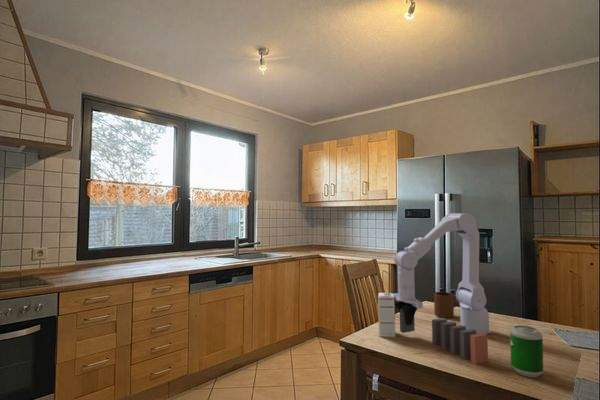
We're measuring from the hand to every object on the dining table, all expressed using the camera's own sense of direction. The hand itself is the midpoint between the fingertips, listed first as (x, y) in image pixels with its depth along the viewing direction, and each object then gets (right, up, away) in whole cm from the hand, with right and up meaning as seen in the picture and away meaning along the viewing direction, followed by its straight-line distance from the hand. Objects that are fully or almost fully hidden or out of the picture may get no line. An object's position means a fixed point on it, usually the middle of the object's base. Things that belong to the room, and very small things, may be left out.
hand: (407, 323), depth 127 cm
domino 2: (+9, -5, -6) cm, 12 cm away
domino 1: (0, -3, 0) cm, 3 cm away
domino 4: (+12, -4, -14) cm, 19 cm away
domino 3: (+11, -4, -10) cm, 15 cm away
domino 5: (+14, -4, -17) cm, 22 cm away
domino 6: (+15, -4, -21) cm, 26 cm away
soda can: (+25, -4, -28) cm, 38 cm away
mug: (+25, -5, +24) cm, 35 cm away
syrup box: (-7, -5, +3) cm, 9 cm away
